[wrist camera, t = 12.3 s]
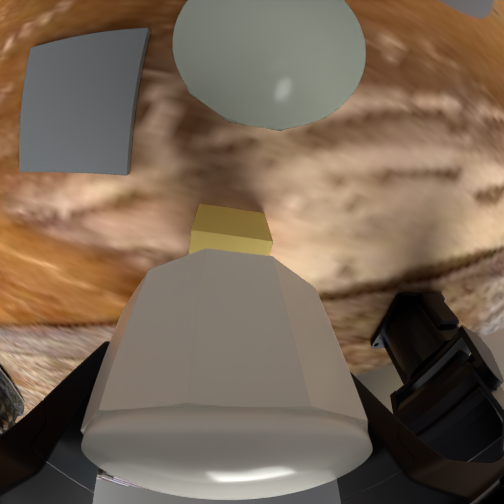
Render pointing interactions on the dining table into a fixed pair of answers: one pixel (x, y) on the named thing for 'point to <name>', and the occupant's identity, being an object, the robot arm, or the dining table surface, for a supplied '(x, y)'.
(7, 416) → the decorative house
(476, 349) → the robot arm
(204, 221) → the yellow cube
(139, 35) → the slate coaster
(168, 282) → the cream cup
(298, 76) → the sage cup
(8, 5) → the dining table surface
